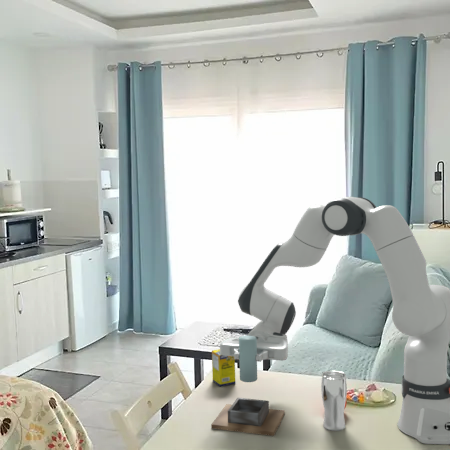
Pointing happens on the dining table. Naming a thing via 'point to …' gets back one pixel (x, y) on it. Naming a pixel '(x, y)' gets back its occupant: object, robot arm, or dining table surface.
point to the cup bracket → (249, 417)
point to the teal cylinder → (248, 358)
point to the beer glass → (334, 399)
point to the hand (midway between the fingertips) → (247, 357)
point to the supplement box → (223, 368)
